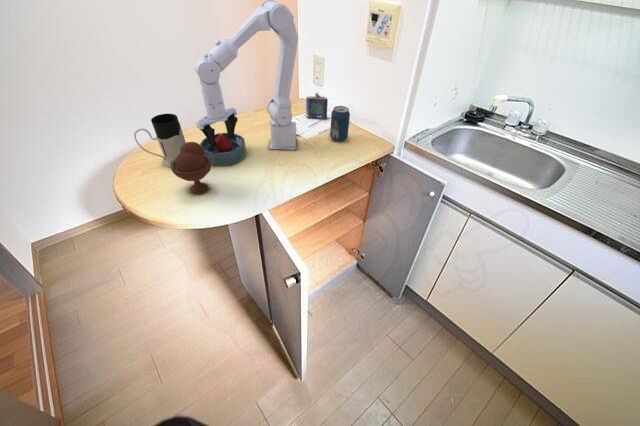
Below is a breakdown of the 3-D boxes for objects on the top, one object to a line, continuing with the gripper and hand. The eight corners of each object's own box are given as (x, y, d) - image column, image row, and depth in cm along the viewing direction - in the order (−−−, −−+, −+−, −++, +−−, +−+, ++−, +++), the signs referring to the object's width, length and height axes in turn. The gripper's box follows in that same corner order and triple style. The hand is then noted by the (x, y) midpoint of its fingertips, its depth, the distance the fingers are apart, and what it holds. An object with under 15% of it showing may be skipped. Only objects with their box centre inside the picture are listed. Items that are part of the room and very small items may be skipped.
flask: (305, 118, 128) (305, 93, 121) (306, 115, 131) (306, 91, 124) (326, 119, 128) (327, 95, 121) (327, 117, 130) (328, 92, 123)
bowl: (250, 145, 109) (248, 133, 106) (242, 167, 98) (239, 154, 95) (210, 144, 109) (207, 132, 105) (197, 166, 98) (193, 153, 94)
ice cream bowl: (184, 179, 92) (170, 135, 82) (220, 178, 93) (210, 135, 83) (175, 200, 84) (157, 155, 74) (214, 199, 85) (202, 154, 75)
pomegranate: (235, 150, 105) (232, 129, 100) (230, 159, 101) (226, 137, 95) (220, 149, 105) (215, 128, 100) (214, 157, 101) (209, 136, 96)
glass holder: (196, 161, 100) (183, 119, 90) (153, 176, 93) (134, 132, 83) (186, 151, 104) (173, 110, 94) (144, 164, 97) (125, 122, 87)
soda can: (346, 134, 118) (349, 105, 110) (348, 143, 113) (351, 113, 105) (329, 134, 118) (331, 105, 110) (330, 142, 112) (332, 112, 104)
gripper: (202, 112, 84) (212, 153, 94) (240, 98, 93) (246, 137, 102) (187, 106, 87) (199, 146, 97) (225, 92, 96) (232, 131, 105)
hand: (222, 141), depth 100 cm, fingers open, 7 cm apart
